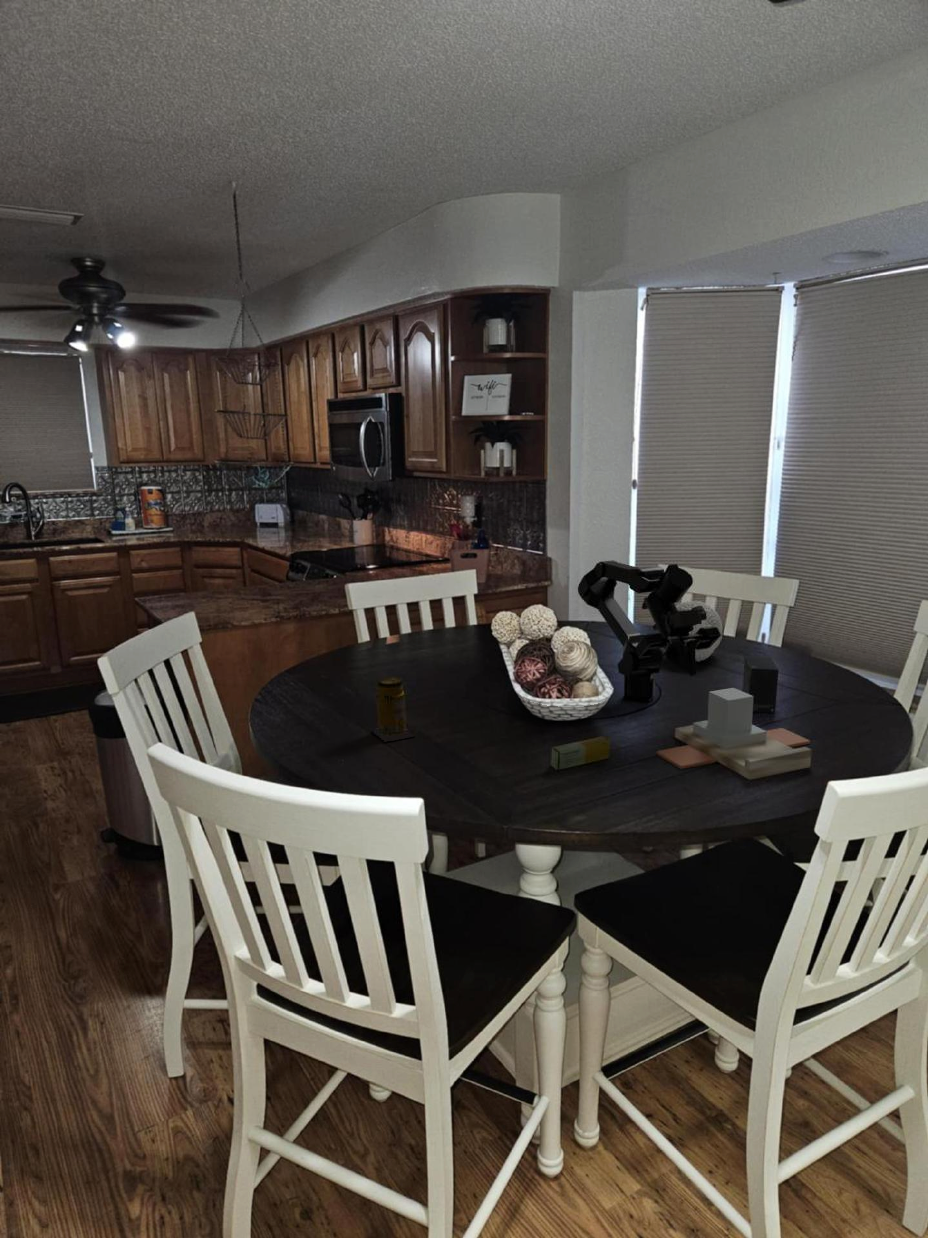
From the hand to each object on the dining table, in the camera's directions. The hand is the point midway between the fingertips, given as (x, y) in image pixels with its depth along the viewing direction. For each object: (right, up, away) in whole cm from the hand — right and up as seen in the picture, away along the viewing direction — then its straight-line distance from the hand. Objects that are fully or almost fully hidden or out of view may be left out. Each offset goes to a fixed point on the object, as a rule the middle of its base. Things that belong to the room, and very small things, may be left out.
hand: (694, 675), depth 169 cm
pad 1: (-6, -15, -14) cm, 21 cm away
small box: (+19, -8, +14) cm, 25 cm away
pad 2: (+16, -13, -6) cm, 21 cm away
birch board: (+6, -14, -11) cm, 19 cm away
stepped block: (+4, -12, -9) cm, 15 cm away
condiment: (-65, -13, +3) cm, 66 cm away
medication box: (-26, -16, -14) cm, 34 cm away
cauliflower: (+16, +1, +55) cm, 57 cm away
